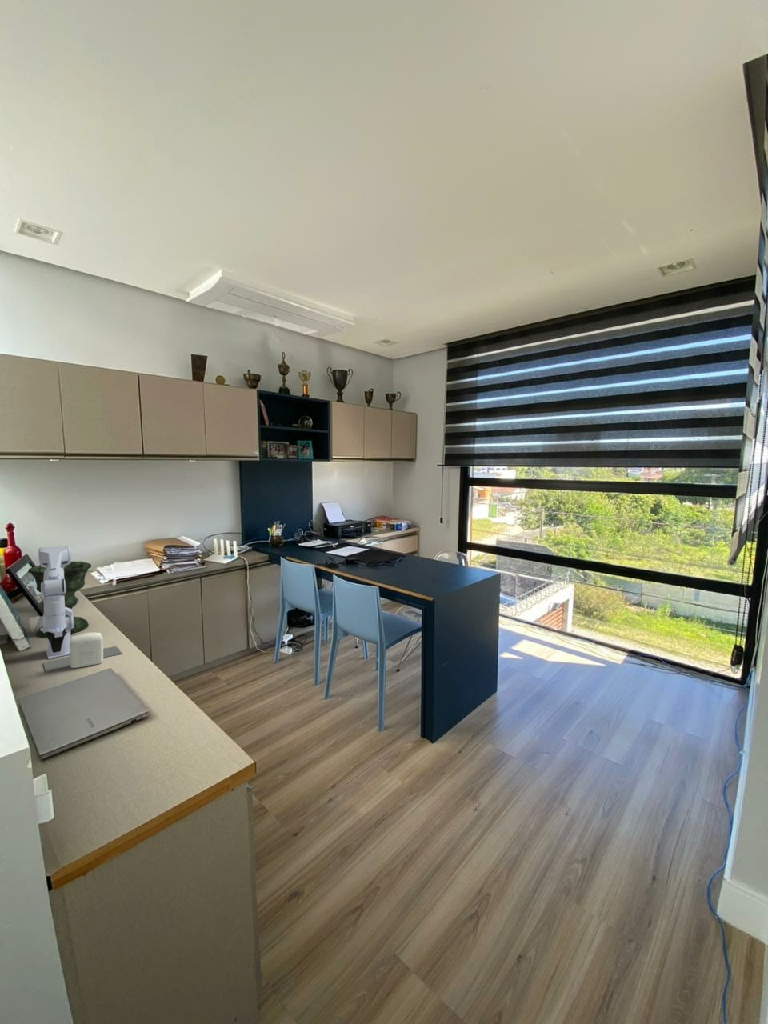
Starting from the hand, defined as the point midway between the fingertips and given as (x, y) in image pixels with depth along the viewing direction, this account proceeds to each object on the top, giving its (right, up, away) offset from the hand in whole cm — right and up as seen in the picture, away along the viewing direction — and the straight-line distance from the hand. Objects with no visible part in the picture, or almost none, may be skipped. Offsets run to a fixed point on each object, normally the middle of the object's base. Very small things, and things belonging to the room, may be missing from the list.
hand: (56, 651), depth 146 cm
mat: (-4, -9, +18) cm, 20 cm away
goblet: (-34, -6, +47) cm, 58 cm away
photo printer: (+1, -9, +13) cm, 16 cm away
